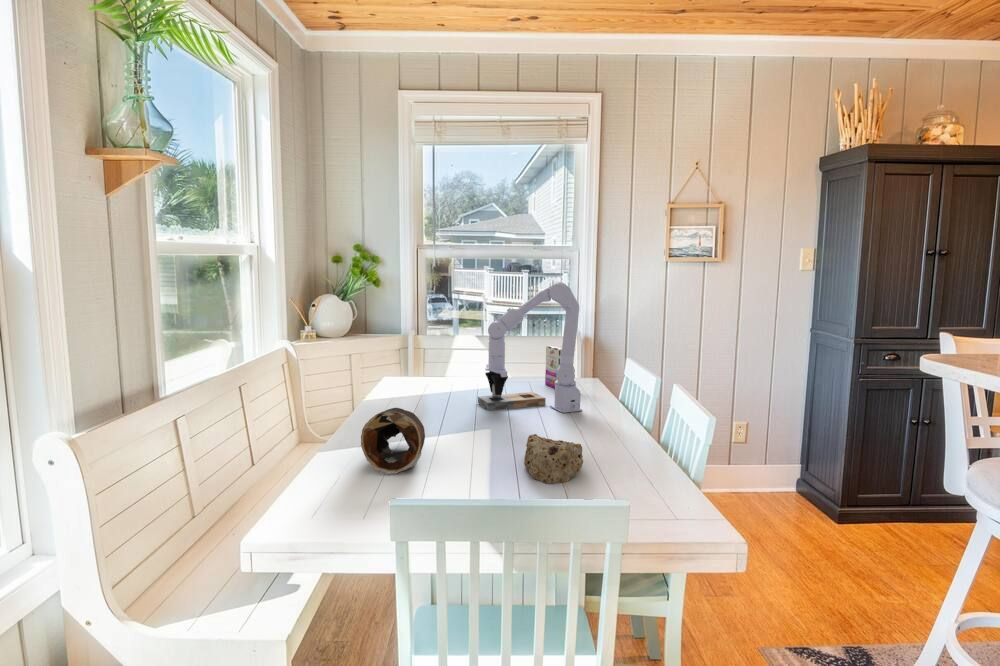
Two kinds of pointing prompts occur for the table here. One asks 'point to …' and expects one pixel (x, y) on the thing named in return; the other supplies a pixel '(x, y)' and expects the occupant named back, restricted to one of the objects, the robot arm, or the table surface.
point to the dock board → (512, 401)
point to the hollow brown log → (386, 428)
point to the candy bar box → (552, 364)
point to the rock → (552, 459)
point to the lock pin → (494, 396)
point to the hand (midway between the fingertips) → (496, 393)
